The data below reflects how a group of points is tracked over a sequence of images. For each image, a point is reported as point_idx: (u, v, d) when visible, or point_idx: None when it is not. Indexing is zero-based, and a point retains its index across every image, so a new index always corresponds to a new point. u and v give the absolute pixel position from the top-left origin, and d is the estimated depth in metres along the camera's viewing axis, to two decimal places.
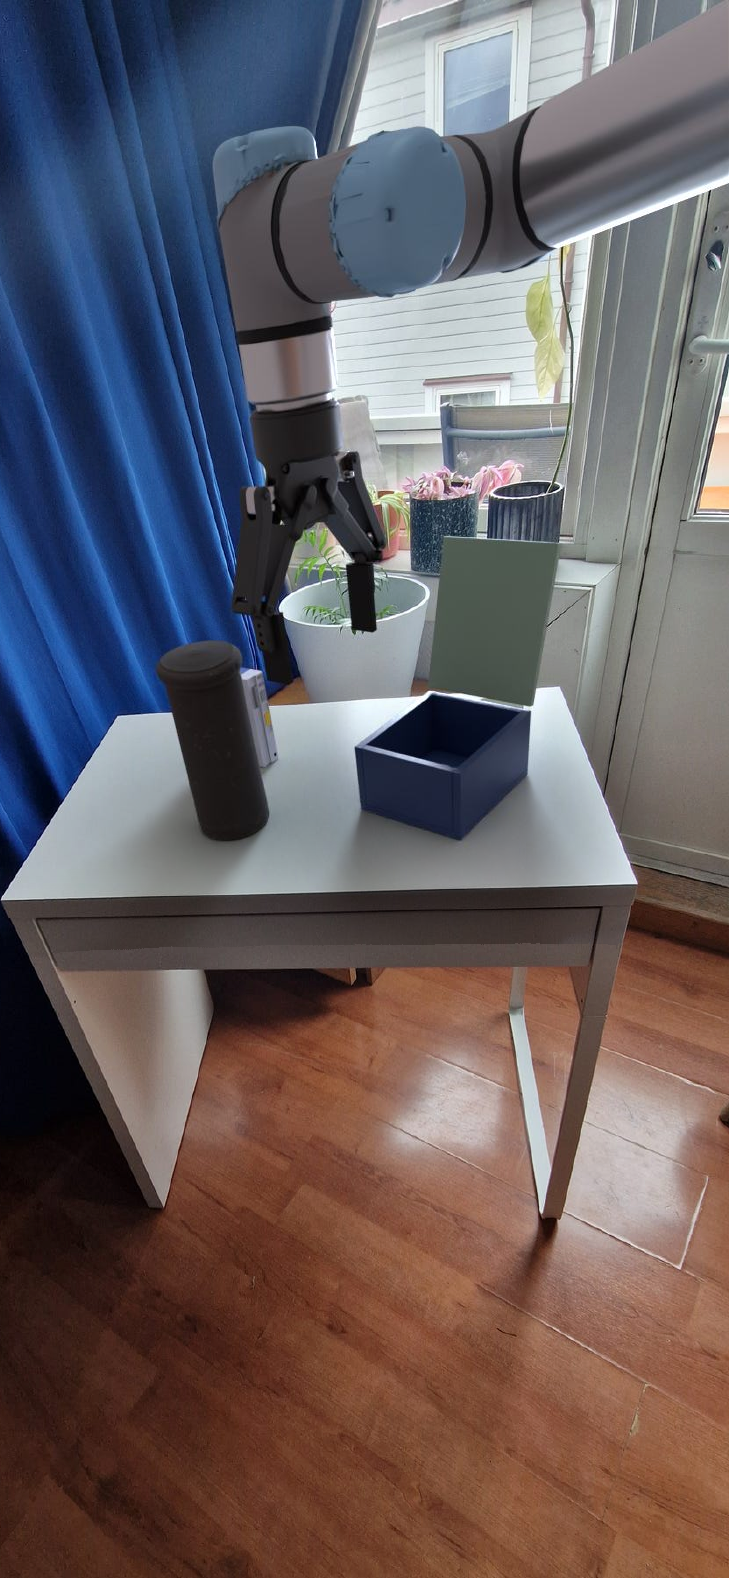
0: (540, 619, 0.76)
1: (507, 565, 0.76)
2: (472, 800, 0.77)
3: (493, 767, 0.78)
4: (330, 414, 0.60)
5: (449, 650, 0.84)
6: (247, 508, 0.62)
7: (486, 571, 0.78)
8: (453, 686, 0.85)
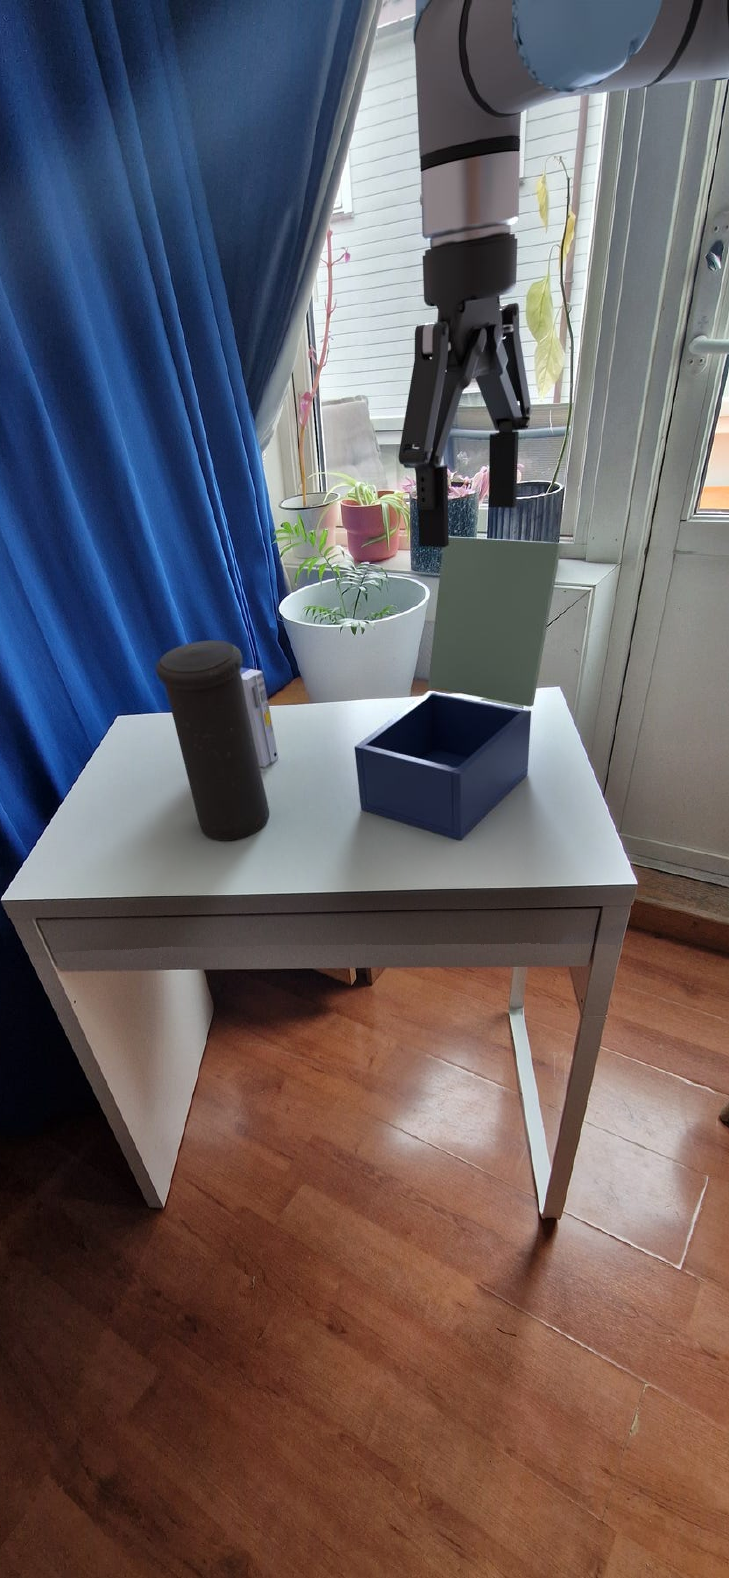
0: (540, 619, 0.76)
1: (507, 565, 0.76)
2: (472, 800, 0.77)
3: (493, 767, 0.78)
4: (512, 246, 0.59)
5: (449, 650, 0.84)
6: (423, 347, 0.61)
7: (486, 571, 0.78)
8: (453, 686, 0.85)
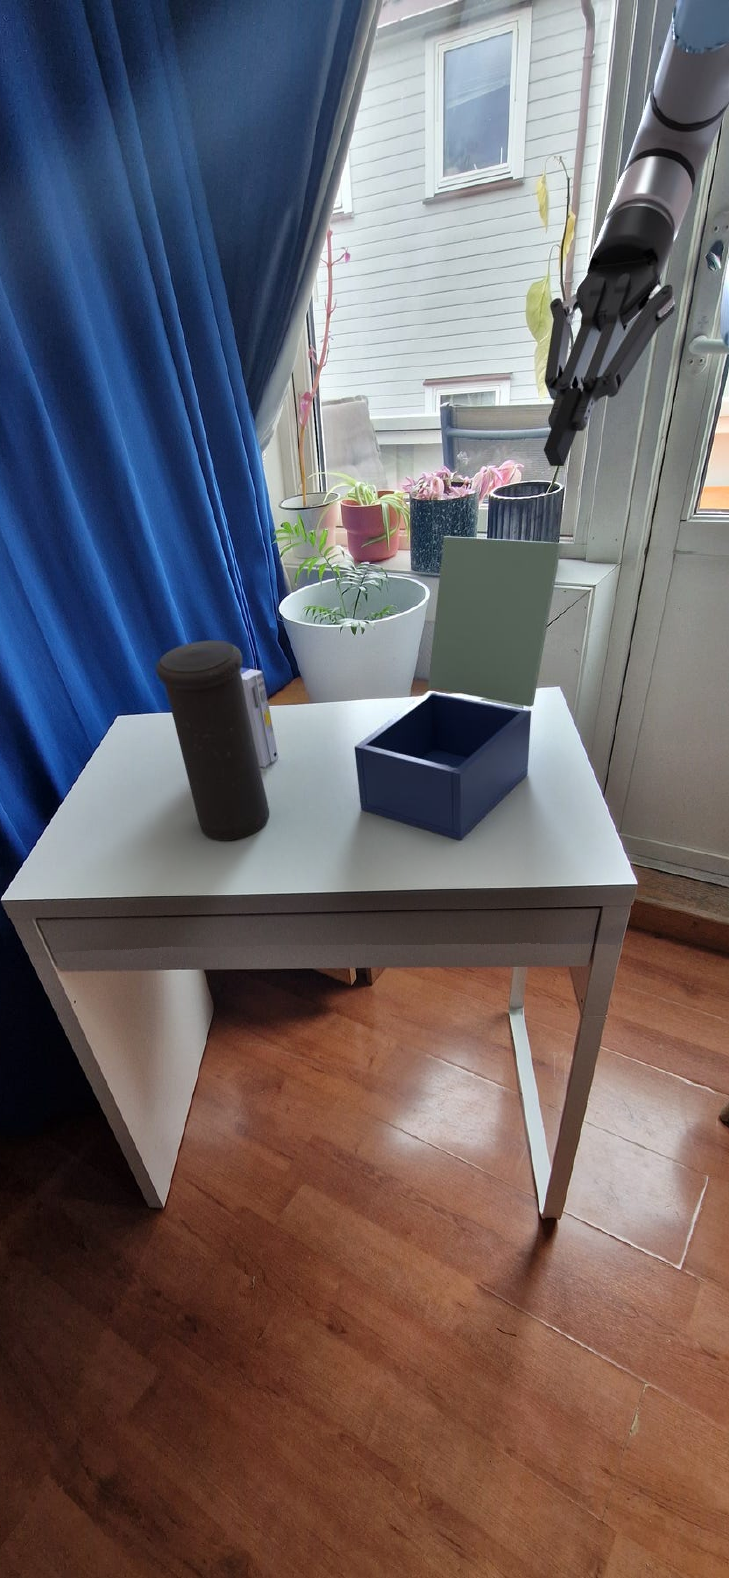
0: (540, 619, 0.76)
1: (507, 565, 0.76)
2: (472, 800, 0.77)
3: (493, 767, 0.78)
4: (628, 211, 0.75)
5: (449, 650, 0.84)
6: None
7: (486, 571, 0.78)
8: (453, 686, 0.85)
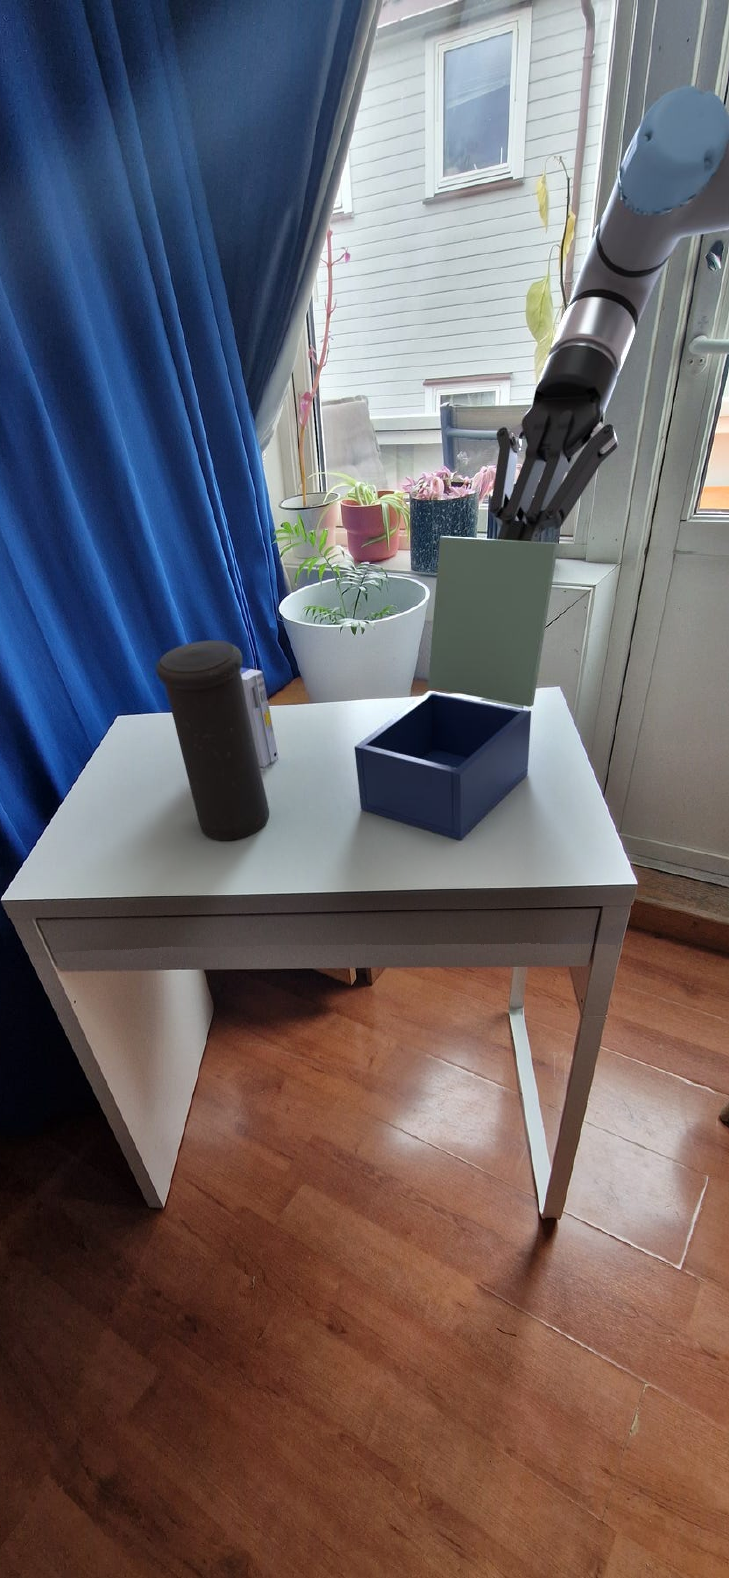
0: (538, 620, 0.76)
1: (504, 566, 0.76)
2: (472, 800, 0.77)
3: (493, 767, 0.78)
4: (570, 350, 0.75)
5: (448, 651, 0.84)
6: None
7: (483, 571, 0.78)
8: (453, 686, 0.85)
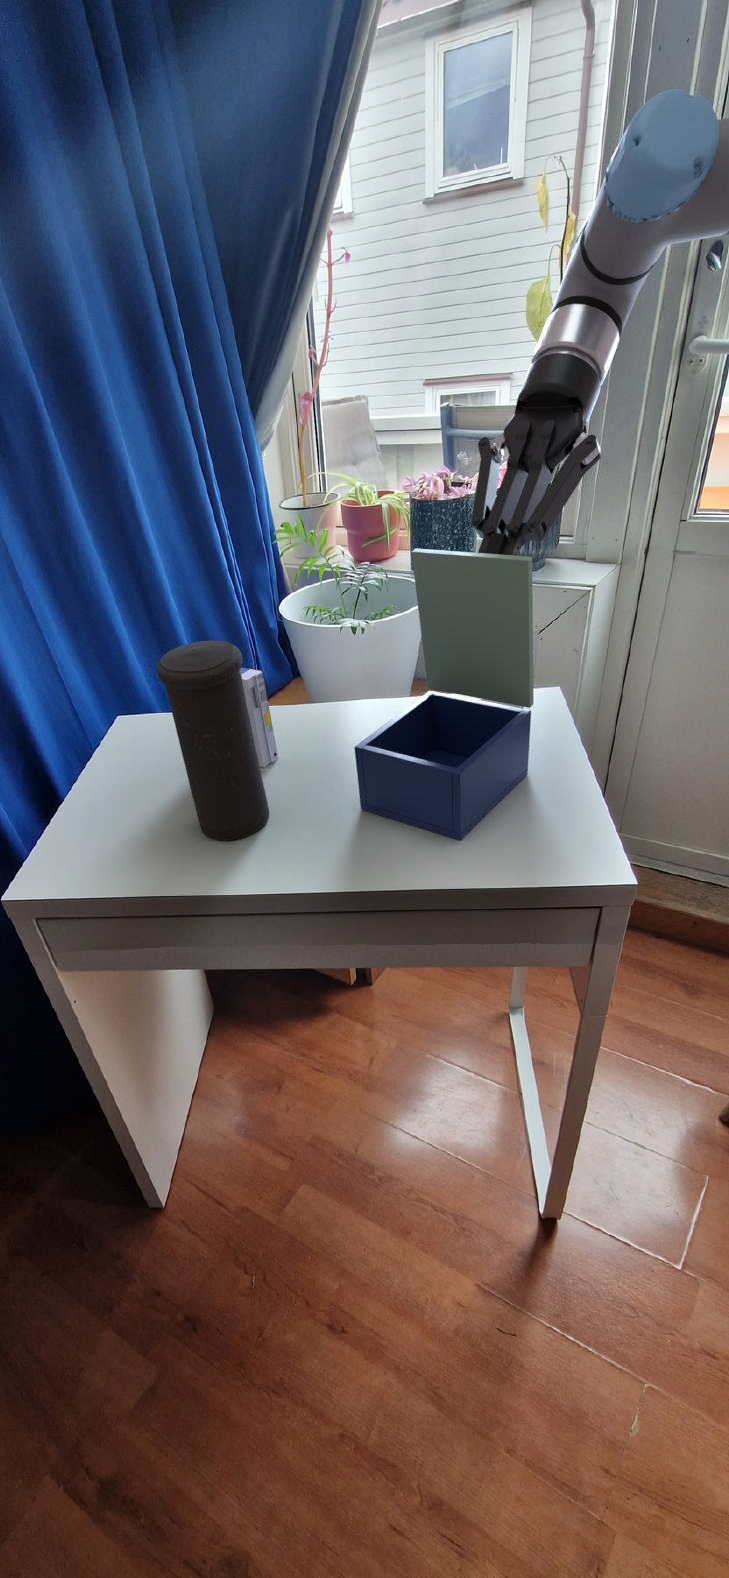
0: (524, 631, 0.74)
1: (481, 580, 0.73)
2: (472, 800, 0.77)
3: (493, 767, 0.78)
4: (551, 358, 0.73)
5: (441, 656, 0.83)
6: None
7: (461, 585, 0.75)
8: (452, 688, 0.85)
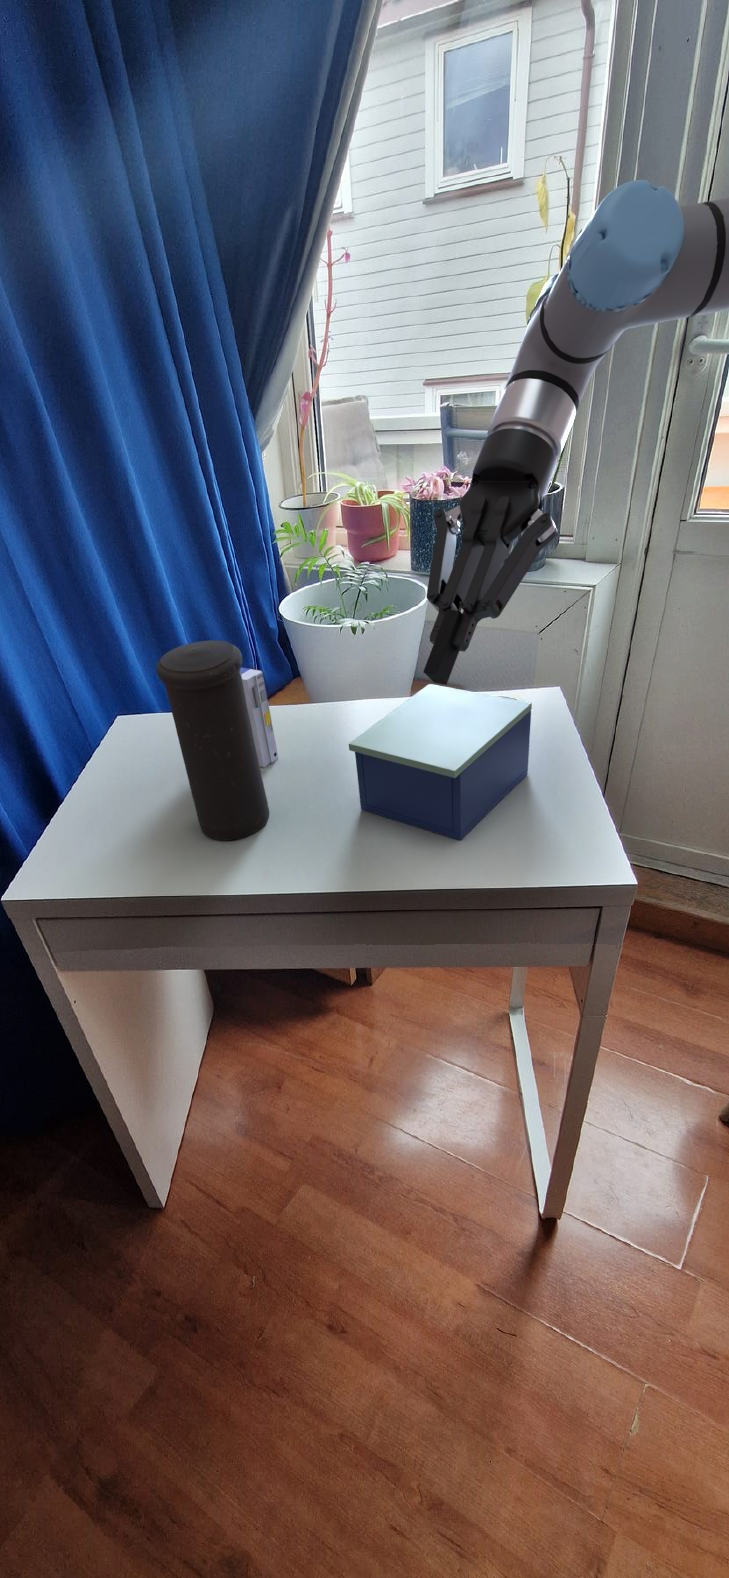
0: None
1: None
2: (472, 800, 0.77)
3: (493, 767, 0.78)
4: (506, 434, 0.71)
5: None
6: None
7: None
8: None
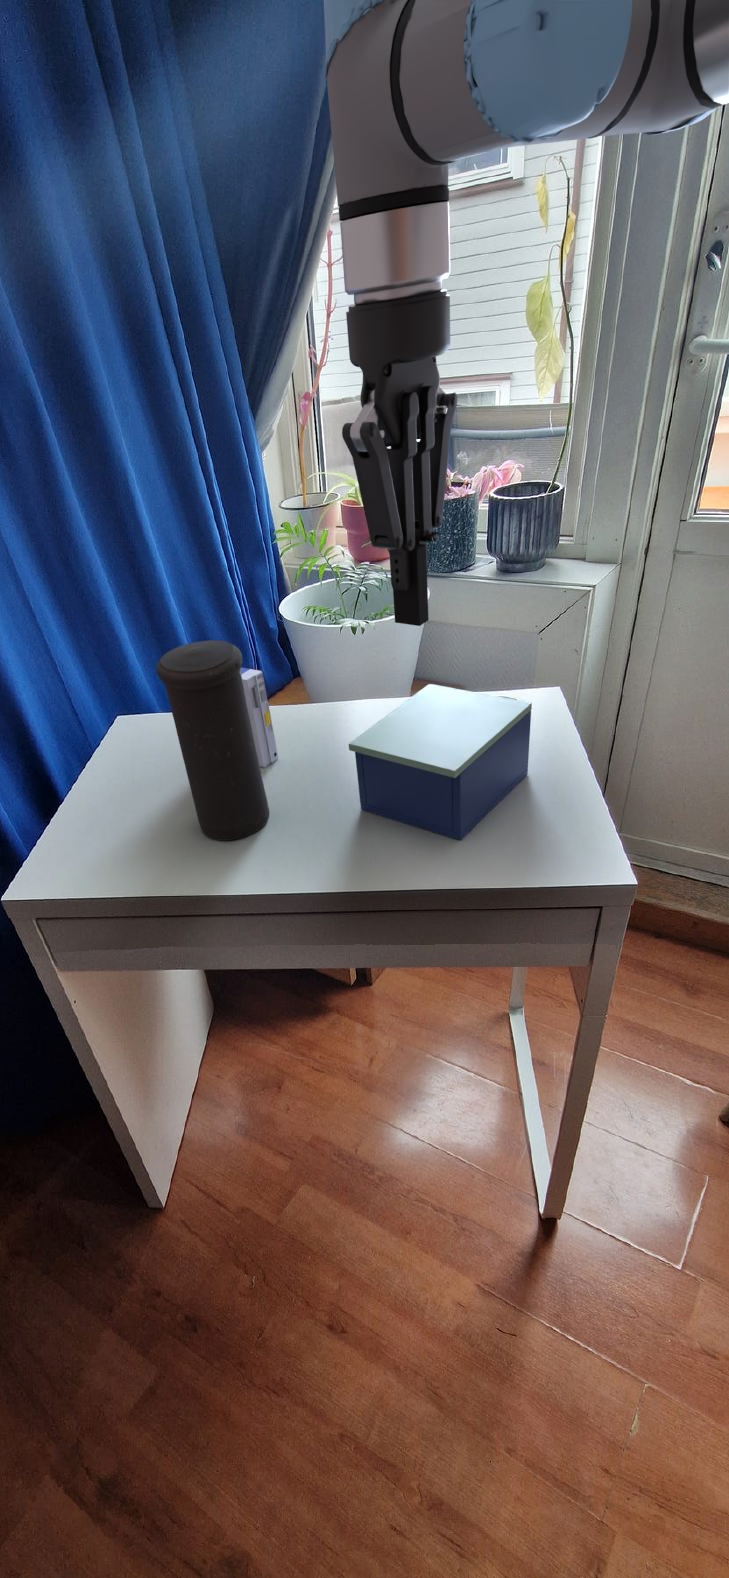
0: None
1: None
2: (472, 800, 0.77)
3: (493, 767, 0.78)
4: (442, 305, 0.53)
5: None
6: (356, 449, 0.57)
7: None
8: None
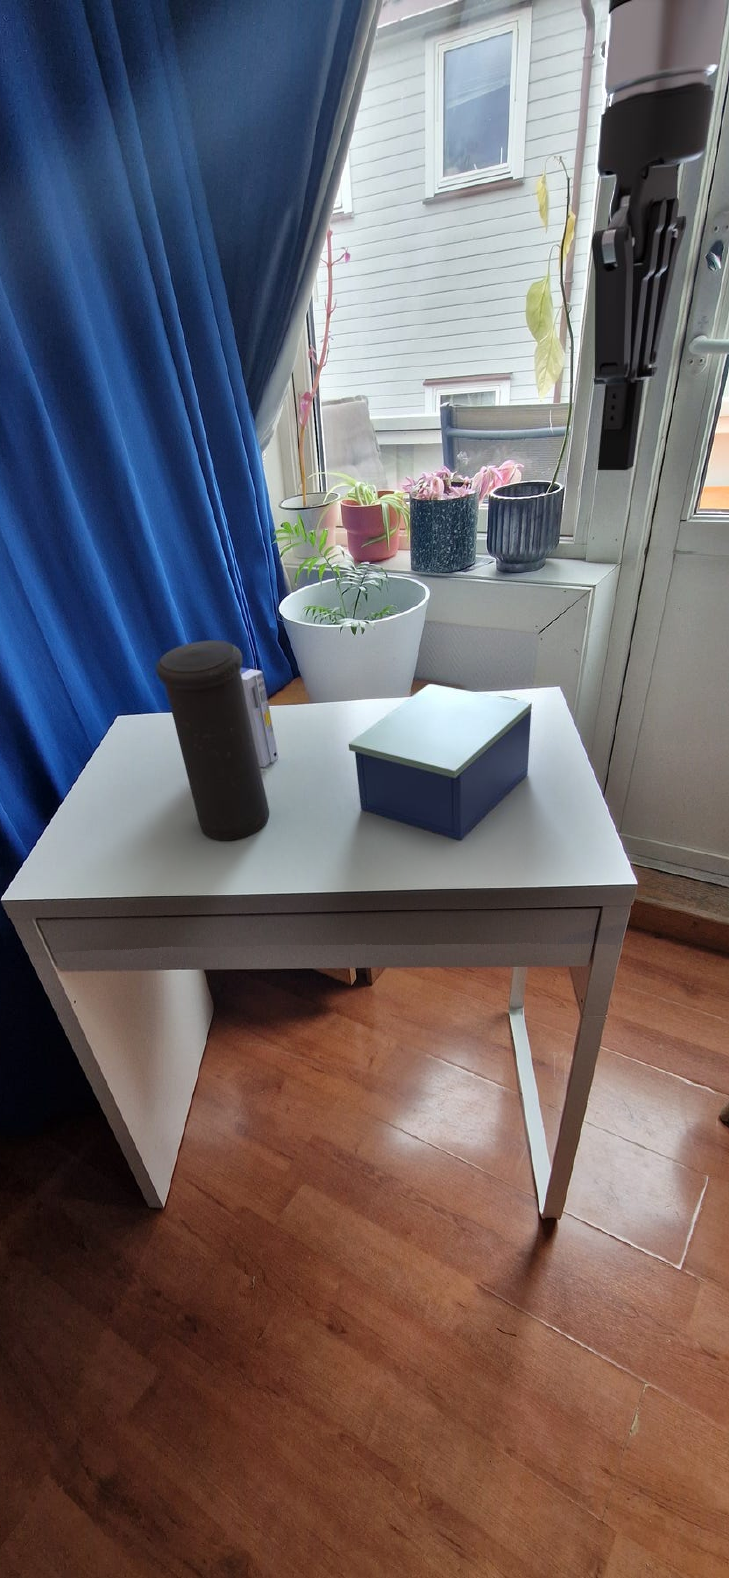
0: None
1: None
2: (472, 800, 0.77)
3: (493, 767, 0.78)
4: (709, 99, 0.52)
5: None
6: (604, 259, 0.56)
7: None
8: None
